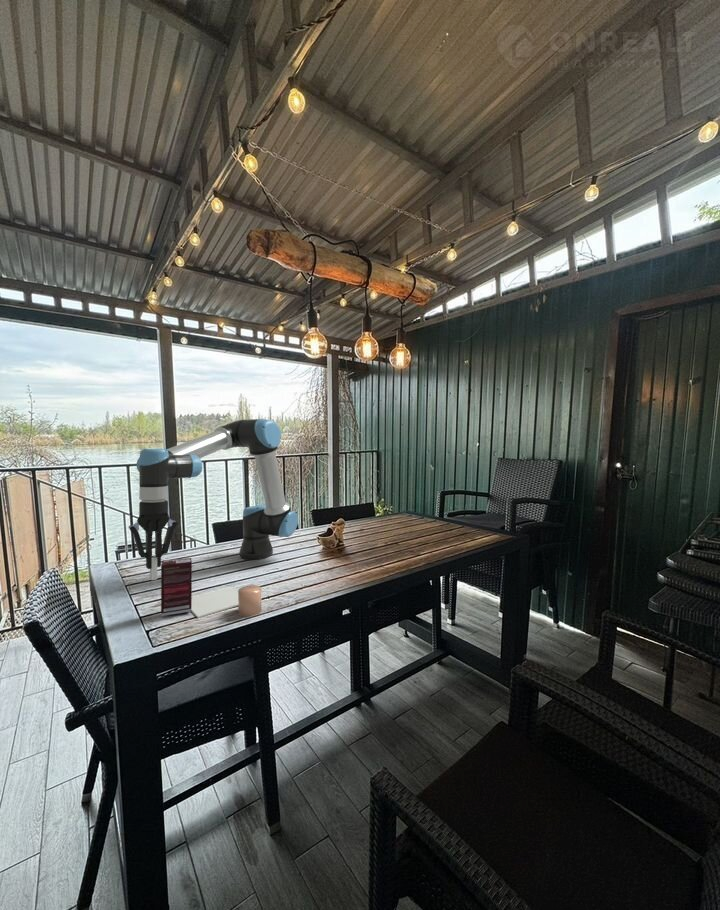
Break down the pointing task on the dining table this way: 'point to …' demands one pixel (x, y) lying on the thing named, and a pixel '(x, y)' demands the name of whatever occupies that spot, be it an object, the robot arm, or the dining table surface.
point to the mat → (214, 601)
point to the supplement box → (176, 586)
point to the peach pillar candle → (249, 600)
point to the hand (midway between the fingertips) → (153, 578)
